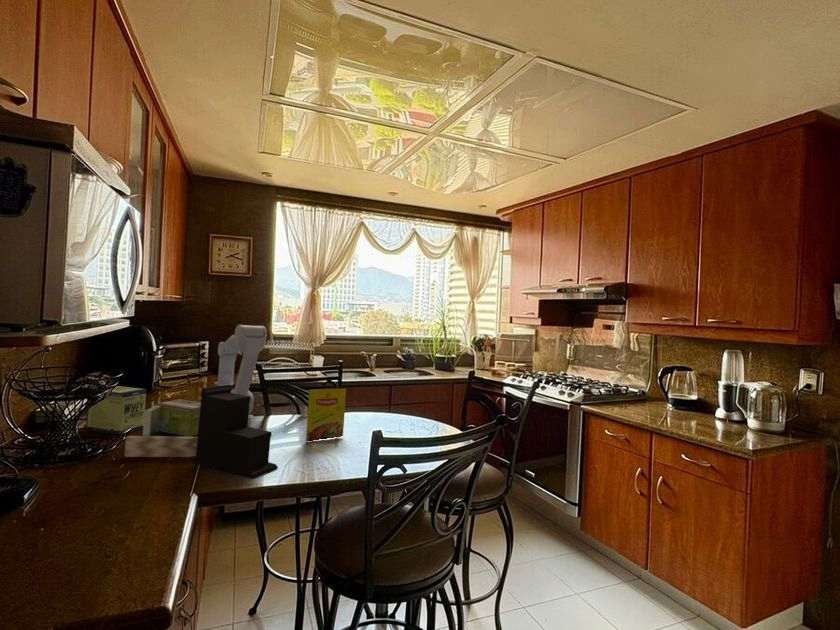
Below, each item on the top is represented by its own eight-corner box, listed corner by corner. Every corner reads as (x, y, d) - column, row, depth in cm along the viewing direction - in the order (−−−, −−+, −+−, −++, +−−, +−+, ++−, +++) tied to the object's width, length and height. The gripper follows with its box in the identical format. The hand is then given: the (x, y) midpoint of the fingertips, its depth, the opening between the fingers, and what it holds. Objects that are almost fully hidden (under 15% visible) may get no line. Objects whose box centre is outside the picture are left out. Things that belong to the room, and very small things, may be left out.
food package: (306, 443, 163) (310, 389, 164) (305, 442, 164) (308, 389, 165) (343, 439, 172) (346, 388, 173) (342, 438, 173) (345, 388, 174)
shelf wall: (214, 455, 143) (216, 436, 143) (213, 457, 141) (214, 438, 141) (127, 454, 138) (128, 435, 138) (124, 456, 136) (125, 437, 136)
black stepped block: (278, 469, 134) (283, 392, 135) (252, 479, 124) (258, 397, 125) (223, 455, 144) (228, 384, 144) (194, 464, 134) (200, 387, 134)
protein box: (120, 435, 158) (124, 392, 159) (85, 430, 162) (89, 388, 162) (144, 429, 169) (147, 388, 169) (110, 424, 172) (114, 385, 172)
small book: (159, 446, 148) (162, 405, 148) (148, 454, 139) (151, 411, 139) (152, 446, 148) (155, 405, 148) (141, 454, 139) (144, 410, 139)
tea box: (152, 446, 149) (155, 402, 149) (176, 439, 158) (179, 398, 159) (188, 452, 145) (191, 407, 145) (210, 444, 154) (213, 402, 155)
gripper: (220, 369, 183) (217, 401, 183) (210, 373, 169) (208, 408, 168) (238, 370, 184) (235, 402, 184) (230, 374, 170) (227, 409, 170)
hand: (223, 405), depth 176 cm, fingers closed
